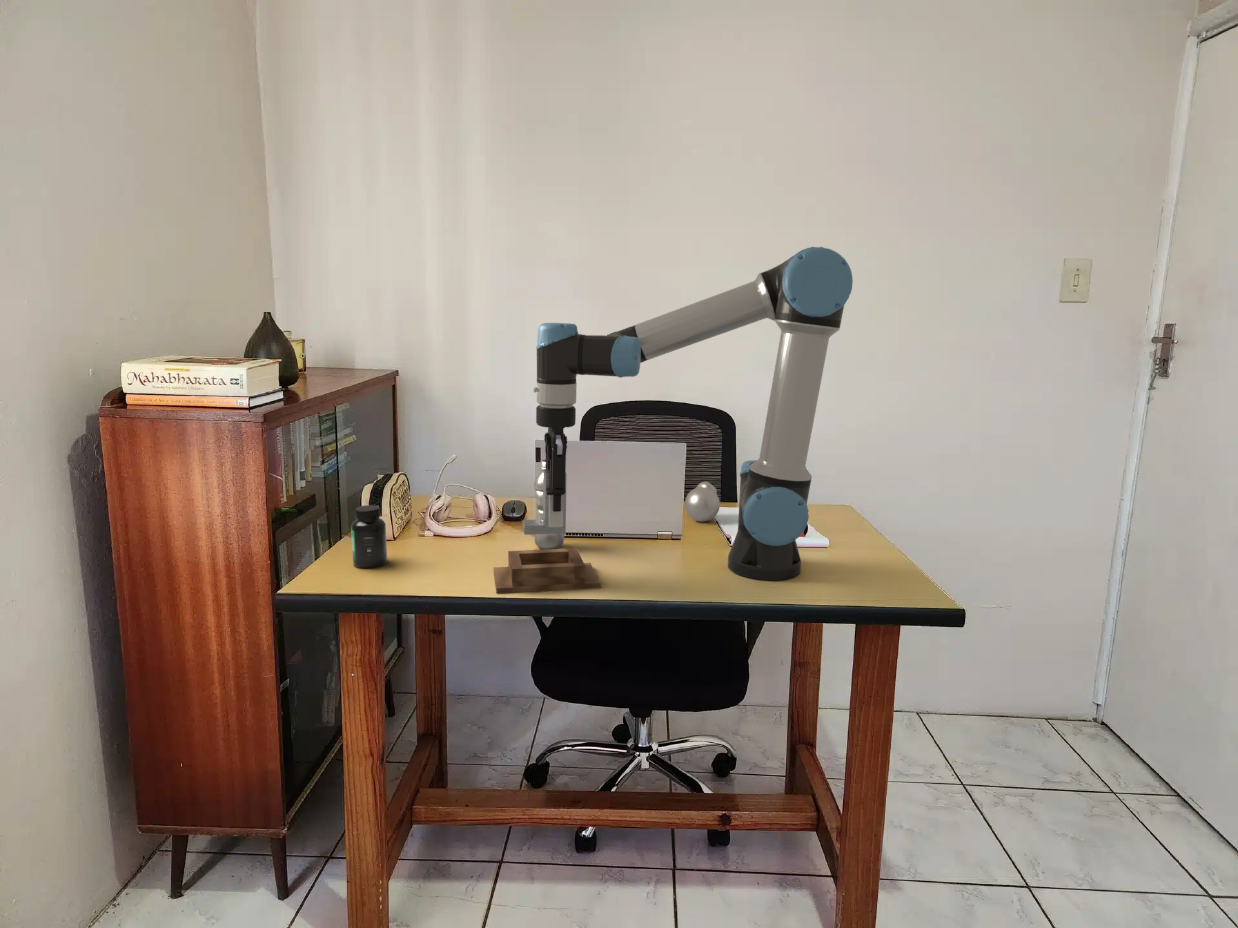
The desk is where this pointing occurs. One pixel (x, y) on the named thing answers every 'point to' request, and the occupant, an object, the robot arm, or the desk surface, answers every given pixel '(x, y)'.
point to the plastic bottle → (542, 539)
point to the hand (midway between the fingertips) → (554, 522)
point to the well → (544, 571)
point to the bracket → (545, 513)
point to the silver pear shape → (702, 502)
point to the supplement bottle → (368, 538)
